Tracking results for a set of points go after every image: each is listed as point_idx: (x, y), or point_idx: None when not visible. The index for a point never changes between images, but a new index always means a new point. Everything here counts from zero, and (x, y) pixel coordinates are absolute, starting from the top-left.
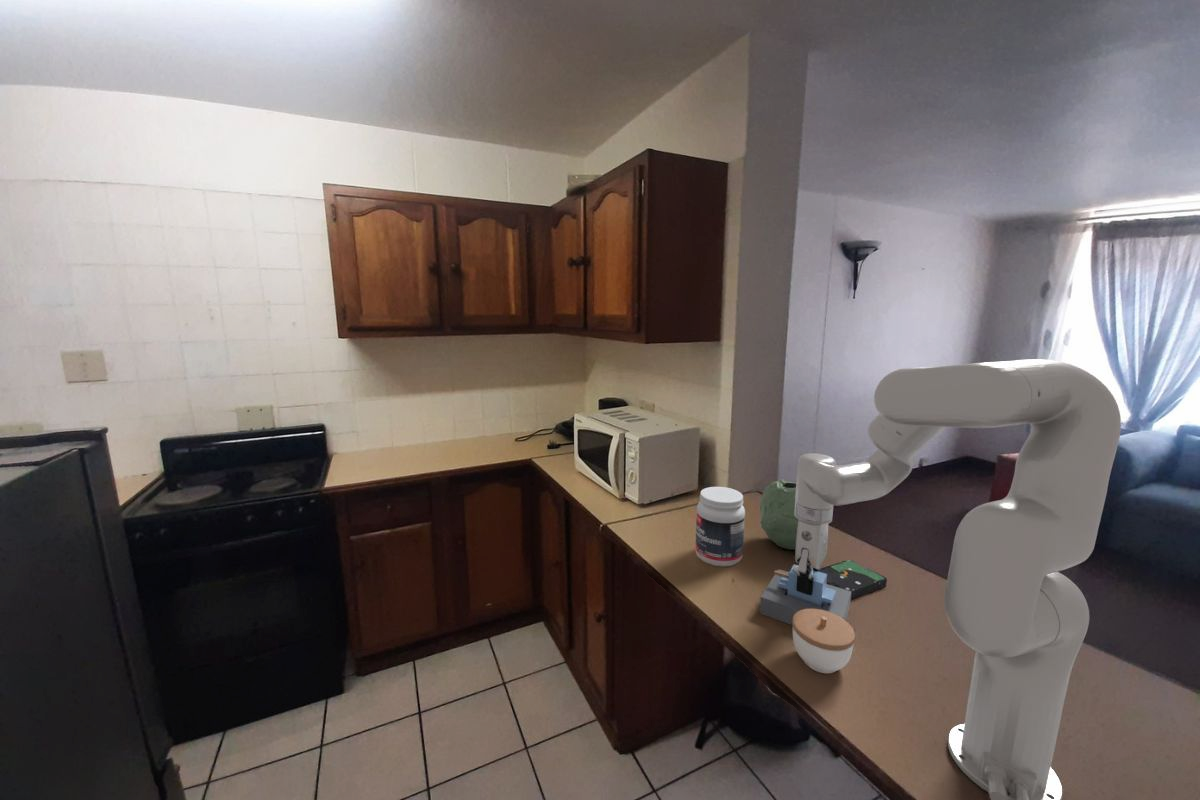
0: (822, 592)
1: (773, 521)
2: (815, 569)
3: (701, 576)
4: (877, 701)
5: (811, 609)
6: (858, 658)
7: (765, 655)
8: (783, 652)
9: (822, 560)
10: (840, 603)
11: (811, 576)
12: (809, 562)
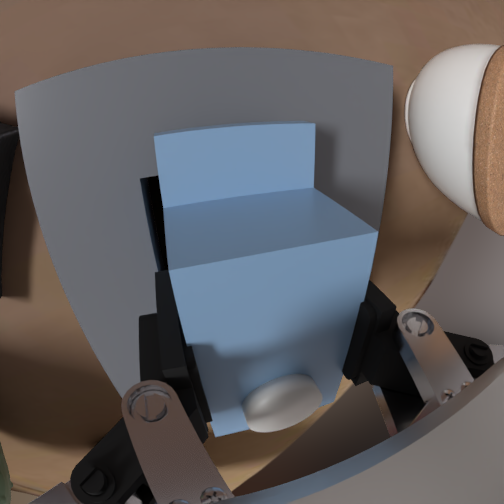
0: (315, 198)
1: (6, 500)
2: (196, 368)
3: (250, 433)
4: (461, 7)
5: (495, 199)
6: (375, 13)
7: (449, 225)
8: (435, 199)
9: (479, 438)
10: (199, 84)
11: (420, 328)
12: (200, 437)
